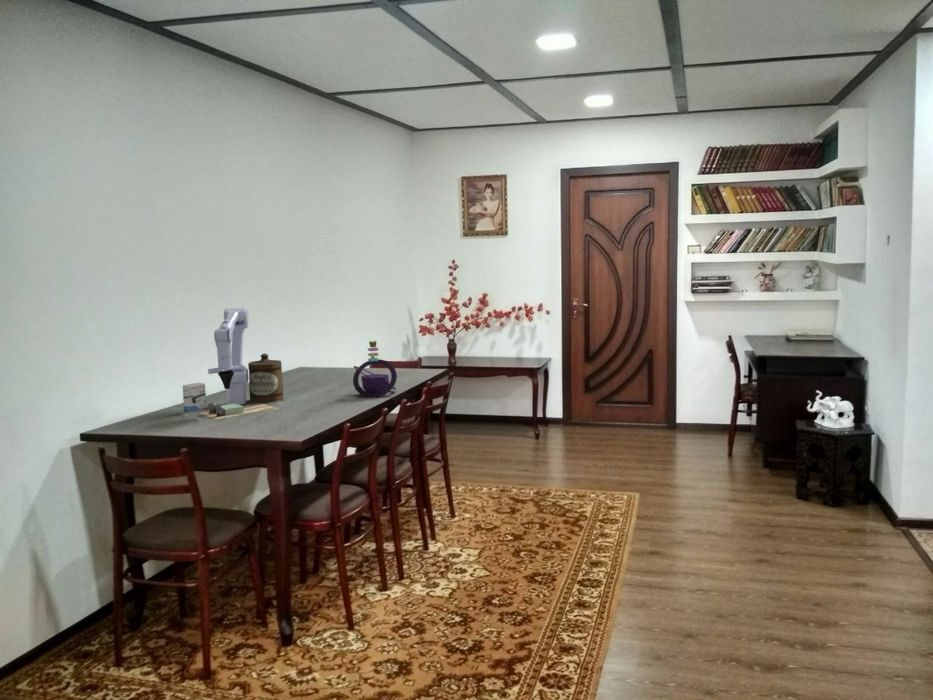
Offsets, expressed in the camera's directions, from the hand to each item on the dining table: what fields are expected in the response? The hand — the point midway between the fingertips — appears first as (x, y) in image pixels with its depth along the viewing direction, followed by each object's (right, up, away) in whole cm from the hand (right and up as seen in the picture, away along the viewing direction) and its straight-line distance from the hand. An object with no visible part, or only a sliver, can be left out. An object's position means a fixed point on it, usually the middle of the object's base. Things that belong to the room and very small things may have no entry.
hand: (227, 388), depth 325 cm
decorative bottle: (+59, -5, +36) cm, 69 cm away
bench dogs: (-2, -11, -6) cm, 13 cm away
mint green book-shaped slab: (+2, -10, -3) cm, 10 cm away
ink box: (-16, -10, +8) cm, 21 cm away
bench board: (+5, -10, 0) cm, 12 cm away
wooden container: (+11, -7, +24) cm, 28 cm away
